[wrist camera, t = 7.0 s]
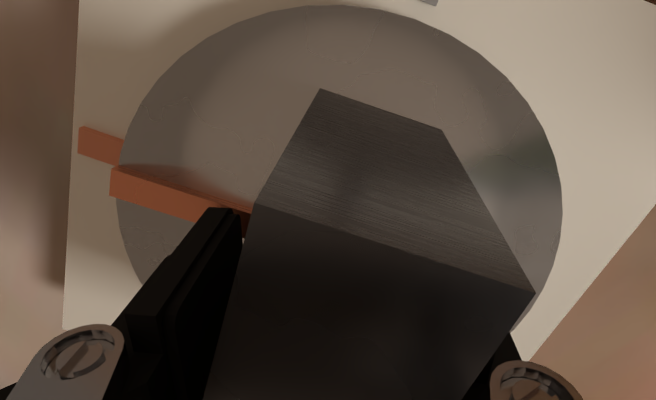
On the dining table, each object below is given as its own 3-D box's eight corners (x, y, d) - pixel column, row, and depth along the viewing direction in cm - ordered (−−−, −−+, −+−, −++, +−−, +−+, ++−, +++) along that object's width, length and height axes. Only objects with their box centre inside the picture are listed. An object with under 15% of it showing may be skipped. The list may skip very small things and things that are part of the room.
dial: (644, 101, 10) (1139, 274, 4) (436, 409, 15) (484, 700, 9) (160, -71, 9) (-298, -236, 3) (119, 314, 14) (-73, 554, 8)
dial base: (446, 407, 18) (456, 456, 16) (94, 294, 17) (58, 332, 15) (711, 45, 11) (785, 54, 9) (140, -183, 10) (84, -229, 8)
